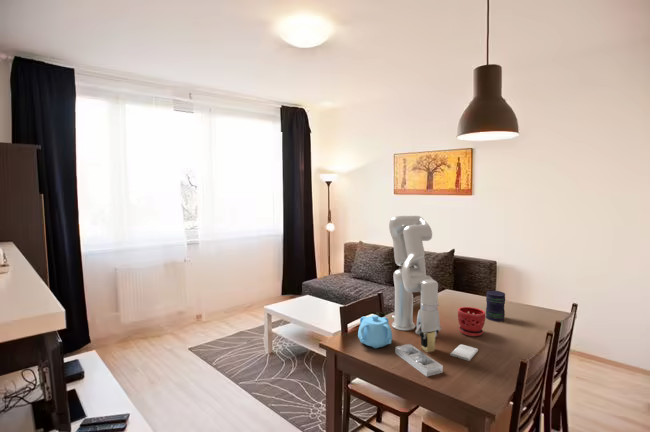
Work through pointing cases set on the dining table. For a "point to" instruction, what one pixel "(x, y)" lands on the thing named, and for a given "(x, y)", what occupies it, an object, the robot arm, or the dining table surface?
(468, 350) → the external hard drive
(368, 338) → the decorative pot
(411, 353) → the grey slotted plate
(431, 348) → the gold rectangular block
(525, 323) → the dining table surface
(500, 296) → the storage jar
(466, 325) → the plant pot
